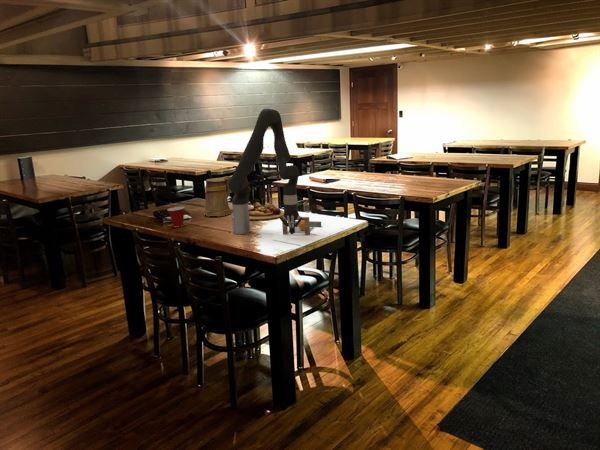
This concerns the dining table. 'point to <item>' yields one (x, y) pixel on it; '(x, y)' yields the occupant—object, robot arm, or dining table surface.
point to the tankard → (217, 197)
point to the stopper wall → (313, 224)
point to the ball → (302, 225)
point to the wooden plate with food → (264, 212)
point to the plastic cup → (177, 215)
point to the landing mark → (298, 230)
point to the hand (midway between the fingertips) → (292, 233)
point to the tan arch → (307, 226)
